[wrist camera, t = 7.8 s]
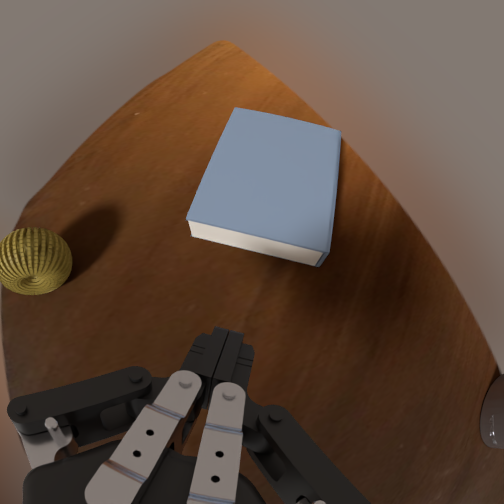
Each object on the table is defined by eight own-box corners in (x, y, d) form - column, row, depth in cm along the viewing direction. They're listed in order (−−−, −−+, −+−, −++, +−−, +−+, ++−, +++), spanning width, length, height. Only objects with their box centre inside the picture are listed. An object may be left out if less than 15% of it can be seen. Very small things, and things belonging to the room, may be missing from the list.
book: (191, 237, 27) (234, 129, 33) (318, 268, 27) (333, 152, 33) (185, 218, 24) (235, 107, 30) (329, 252, 23) (341, 131, 29)
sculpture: (83, 248, 26) (44, 205, 19) (89, 285, 24) (44, 249, 17) (25, 272, 24) (-21, 239, 17) (27, 307, 23) (-23, 281, 16)
